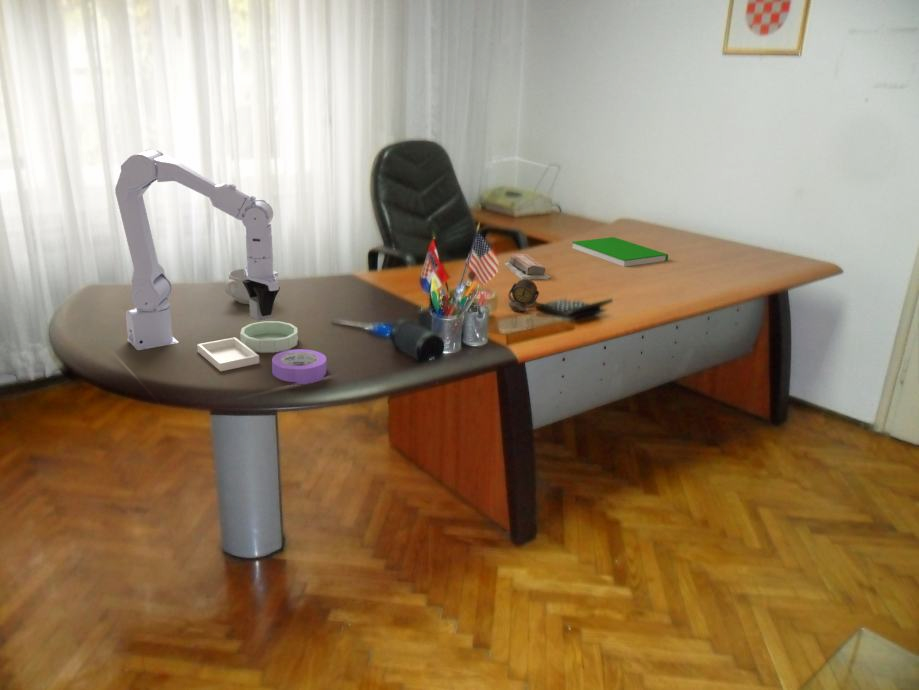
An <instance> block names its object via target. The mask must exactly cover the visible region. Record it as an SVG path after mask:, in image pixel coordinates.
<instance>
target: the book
mask: <svg viewBox="0 0 919 690" xmlns="http://www.w3.org/2000/svg"><path fill="white" fill-rule="evenodd" d="M571 243H572V249H573V250H577V251H579V252H582V253H585V254H587V255H590V256H593V257H596V258H600V259H602V260H605V261H607V262H609V263H611V264H612V263H613V264H616V265H619V266H621V267H623V268H624V267H631V266H638V265H639V266H640V265H645V264H651V263H658V262H660V263H661V262H667V261H668V260H669V255H668V253H665V252H661V251H659V250H655V249H653V248H650V247H645V246H643V245H640V244H637V243H634V242H631V241H627V240H624V239H621V238H618V237H614V236H612V237H604V238H603V237H601V238H594V239H585V240H577V241H576V240H574V241H571Z"/></svg>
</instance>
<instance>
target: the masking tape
mask: <svg viewBox="0 0 919 690" xmlns="http://www.w3.org/2000/svg"><path fill="white" fill-rule="evenodd" d="M271 370H272V371H271V374H272V375H273V376H274V377H275V378H276V379H278V380H280V381H284V382H289V383H291V385H293V384H297V385H296V386H298V385H299V384H303V385H310V384H315V383H317V381H318V382H320V381H321V380H324V379H325V378H326V374H327V370H328V369H327V357H326V355H325V354H323V352H319V351H316V350H312V349H302V348H301V349H289V350H284V351H279V352H277V353H276V354H275V355H273V357H272V358H271ZM314 382H315V383H314ZM309 383H310V384H309ZM299 386H300V385H299Z"/></svg>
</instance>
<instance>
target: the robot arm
mask: <svg viewBox="0 0 919 690" xmlns="http://www.w3.org/2000/svg"><path fill="white" fill-rule="evenodd" d="M154 182H158V183H164V182H165V183H166V182H176V183H178V184H180V185H183V186H185V187H186V188H189V189H191V190H192V191H195V192H196V193H199V194H201V195H203V196H205V197H206V198H209V200H210V201H211V205H212V206H213V207H215V208H216V209H218V210H220V211H221V212H223V213H225V214H227V215H229V216H231V217H233V218H234V219H236V220H238V221H241V222H242V224H243V226H244V228H245V245H246V246H245V248H246V250H245V251H246V266H243V267H242V269H244V275H245V276H247V279H248V280H243V284H244V286H245V288H246V289H247V292H248V294H249V297H250V298H251V297H258V301H259V306H260V311H261V315H262V316H267V315H271V313H272V308H273V309H274V303H275V299H276V298H277V295H278V294H279V291H280V288H281V287H280V286H279V281H277V278H276V277H278V276H279V272H277V271H275V270H274V259H273V257H274V254H273V253H274V252H273V235H272V224H270V223H271V222H272V220H273V218H274V210H273V208H272V206H271V205H270V204H269V203H268V202H267V201H266V200H264V199H257V198H256V196H253V195H251V196H250V195H247V194H246V193H244V192H242V191H241V190H238V189H237V185H235V184H233V183H230V184H227V183H225V182H224V183H220V184H217V183H215V182H213V181H211V180H210V179H208V178H206V177H205V176H203V175H202V174H201V173H198V172H197V171H195V170H193V169H191V168H190V167H188V166H186V164H183V163H182V162H180V161H179V160H177V159H176V158H175V157H173V156H171V155H169V154H167V153H166V154H164V153H163V152H162V151H160V150H158V149H155V148H148V149H146V150H144V151H142V152H140V153H136V154H132V155H131V156H129V157H128V158H127V159H125V161H124V162H123V163H122V164H120V173H119V177H118V180H117V183H116V185H115V190H114V191H115V197H116V200H117V205H118V209H119V212H120V217H121V218H120V219H121V221H122V225H123V229H124V232H125V238H126V242H127V245H128V251H129V254H130V259H131V262H132V266H133V271H132V272H133V273H132V277H131V284H132V285H131V286H132V290H131V294H130V299H131V302H132V303H133V305H134V306H135V307H134V308H133V309H129V310H126V312H125V320H126V323H125V324H126V332H127V343H130V344H131V345H132V347H134V349H136V350H137V351H140V350H147V349H152V348H158V347H162V346H163V347H164V346H169V345H173V344H174V345H175V344H178V343H180V342H179V341H178V340H177V339H176V338H175V337H174V336H173V327H172V325H173V324H172V319H171V318H172V316H171V315H172V314H171V304H170V303H171V302H170V301H169V300H168V299H169V298H168V297H169V296H170V295H171V293H172V290H173V289H172V288H173V287H172V282H171V281H170V279H169V278H168V276H167V275H166V273H165V269H164V268H163V266H162V265H161V264H160V263H159V260H158V257H157V253H156V248H155V244H154V243H155V242H154V239H153V235H152V230H151V227H150V222H149V219H148V213H147V209H146V205H145V201H144V194H145V193H146V191H147V190H148V189H149V188H150V186H151V185H152V184H153V183H154Z"/></svg>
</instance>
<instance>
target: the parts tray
mask: <svg viewBox="0 0 919 690" xmlns="http://www.w3.org/2000/svg"><path fill="white" fill-rule="evenodd" d="M196 345H197V352H198V354H200V355H201V356H202V357H203V358H204V359H206V361H208V362H209V363H210V364H211V365H212V366H214V367H215V368H216V370H218V371H219V372H223V371H228V370H233V369H238V368H243V367H244V368H245V367H249V366H252V365H257V364H260V355H259V354H258V353H257V352H256V351H253V350H251V349H250V348H249V347H247V346H246V345H245V344H243V343H242V342H241V340H240V339H238V338H237V337H235V336H234V337H230V338H224V339H219V340H214V341H213V340H212V341H207V342H202V343H197V344H196Z"/></svg>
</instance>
